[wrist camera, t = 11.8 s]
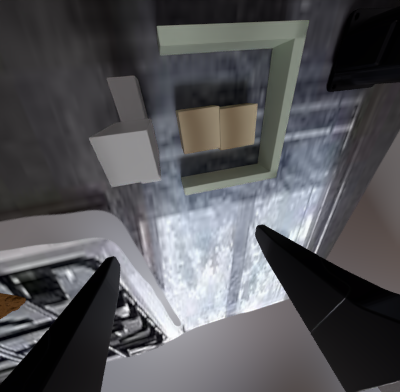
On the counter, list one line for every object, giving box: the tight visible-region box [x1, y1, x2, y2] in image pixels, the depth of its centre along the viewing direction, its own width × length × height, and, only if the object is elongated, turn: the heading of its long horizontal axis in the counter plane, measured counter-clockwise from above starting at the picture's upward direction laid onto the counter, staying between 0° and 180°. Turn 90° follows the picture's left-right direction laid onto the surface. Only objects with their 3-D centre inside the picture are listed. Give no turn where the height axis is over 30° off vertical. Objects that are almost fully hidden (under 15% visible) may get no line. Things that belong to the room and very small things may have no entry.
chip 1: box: [176, 105, 220, 154], centre depth 17 cm, size 4×4×2 cm
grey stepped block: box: [89, 76, 161, 187], centre depth 13 cm, size 3×9×9 cm, turn 5°
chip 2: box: [219, 103, 257, 150], centre depth 17 cm, size 4×4×2 cm
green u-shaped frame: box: [157, 20, 309, 195], centre depth 16 cm, size 12×14×3 cm
